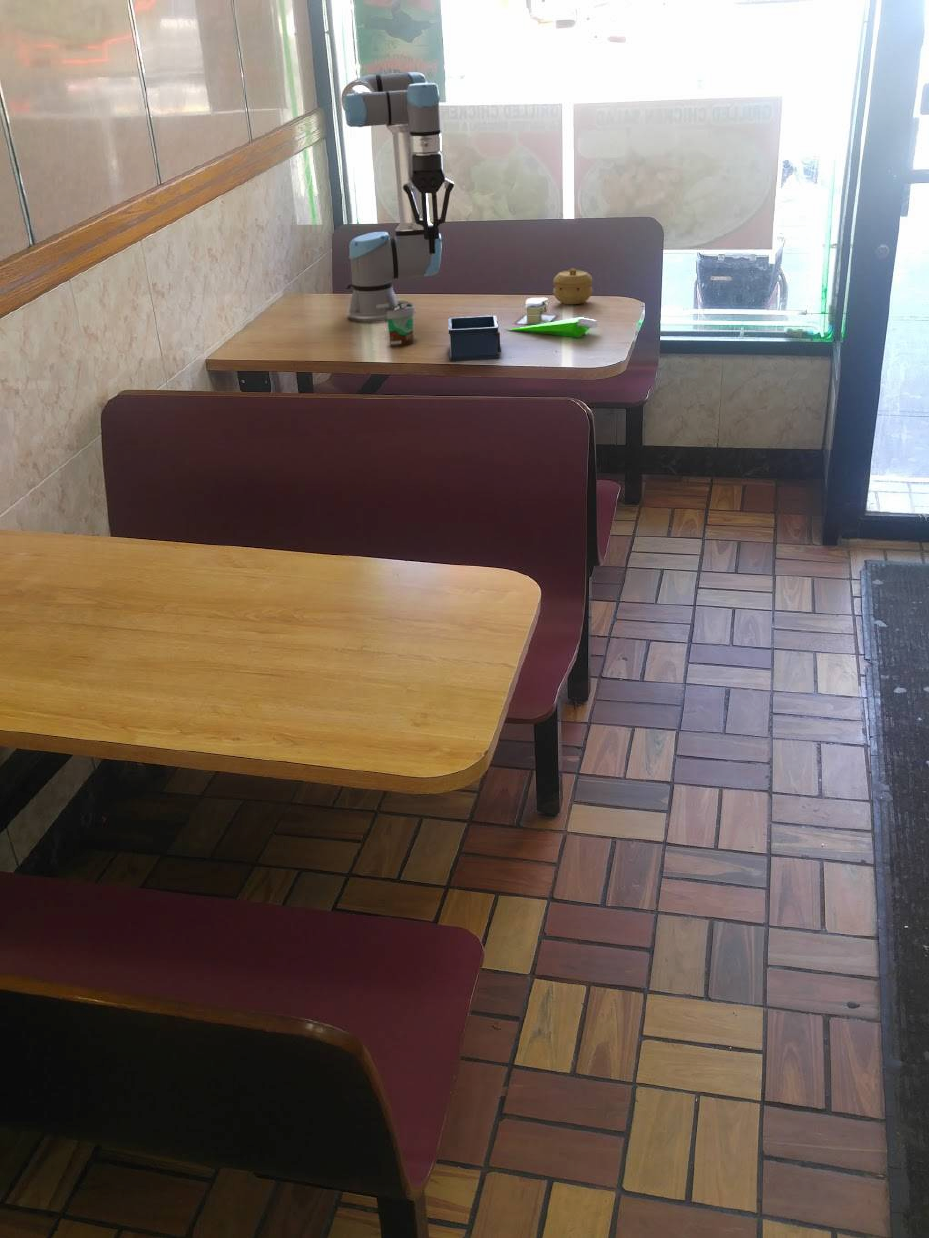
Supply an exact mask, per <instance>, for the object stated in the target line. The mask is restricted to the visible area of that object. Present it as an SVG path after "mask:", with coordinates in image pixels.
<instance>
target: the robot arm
mask: <svg viewBox="0 0 929 1238" xmlns="http://www.w3.org/2000/svg"><path fill="white" fill-rule="evenodd" d="M340 99H341V106H342V108H343V111H344V116H345V122H346V125H347V126H348V127H350V128H356V127H357V128H363V127H373V126H384V125H385V127H386V129H387V130H388V131H389V132H390V133H391V135H392V145H393V156H394V168H395V180H396V191H397V193H396V194H397V203H398V205H397V206H398V217H399V224H398V226H397V227H396V228H395V231H394V232H395V236H390V235H389V233H388V231H375V232H368V233H365V234H362V235H361V234H360V235H359V236H356V237H354V238H353V239H351V240H350V242H349V245H348V247H349V256H348V258H349V260H350V269H351V283H350V284H348V285H347V287H346V288H347V289H350V288H352V295H351V300H350V306H349V311H348V315H349V319H350V320H351V321H354V322H358V323H380V322H388V319H387V311H391V310H392V308H393V307H396V306H397V305H398V301H399V300H398V298H397V296H396V293H395V291H394V287H393V280H395V279H398V280H399V279H409V278H421V277H422V278H425V277H428V276H429V277H430V276H435V275H437V274H438V273H439V272H440V268H441V263H442V253H443V250H442V249H443V243H442V234H441V233H440V231H439V230H440V228H439V226H440V225H441V224H444V223H446V218H447V214H448V208H449V202H450V197H451V192H452V191H453V189H454V186H455V183H454V181H452V180H449V179H448V178H446V175H445V173H444V167H443V154H442V153H441V152H442V151H443V149H442V146H443V145H442V133H441V132H442V130H441V114H440V113H441V111H440V110H441V109H440V99H441V98H440V94H439V86H438V84H437V83H435V82H428V81H427V78H426V76H425V75H424V73H422V72H414V71H411V72H410V71H406V72H405V71H404V72H394V73H382V74H367V75H363V76H361V77H358V78H355V79H354V80H352V81H350V82H349V83H348V84H347V85H346V86H345V87H344V88H343V90H342V93H341V98H340ZM443 184H444V185H443ZM442 186H443V188H444V190H445V191H444V196H443V200H442V208H441V214H440V217H439V216H438V215H439V212H438V196H437V194H438V192H439V190H440V189H441V187H442ZM428 194H431V204H432V221H433V223H432V222H431V221H430V209H429V197H428Z"/></svg>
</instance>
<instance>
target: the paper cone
mask: <svg viewBox="0 0 929 1238" xmlns="http://www.w3.org/2000/svg"><path fill="white" fill-rule="evenodd" d="M598 323H599V322H598V320H596V319H591V318H587V316H580V317H574V318H568V319H563V320H556V321H552V322H551V321H550V322H549V323H545V324H532V325H528V326H522V327H516V328H510V329H508V331H514V332H522V333H523V332H524V333H533V334H542V335H551V336H560V337H570V338H579V339H580V338H581V337H582V336H583V335H584V334H586V333H587V332H588V331H589V330H590V329H596V328H597V327H599V324H598Z"/></svg>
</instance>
